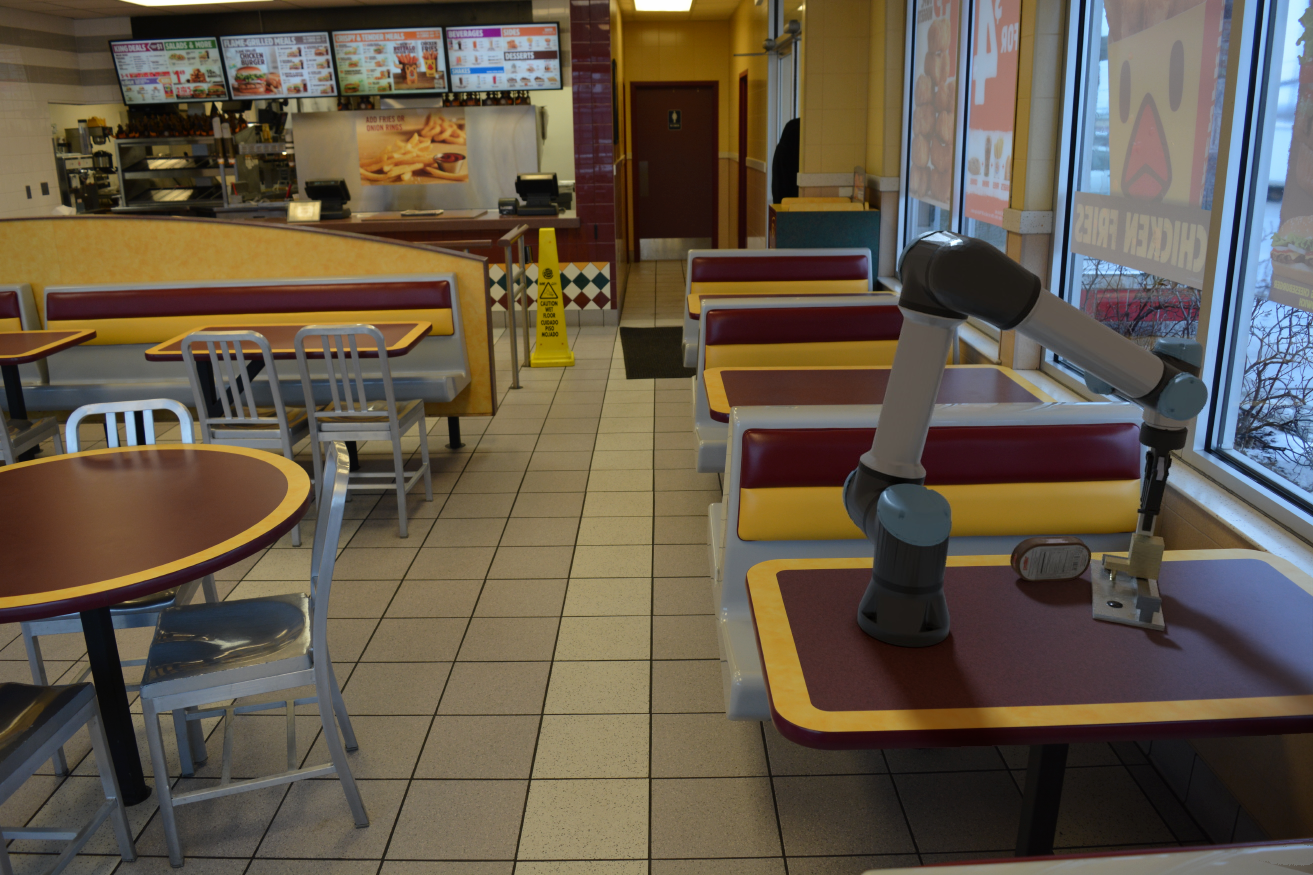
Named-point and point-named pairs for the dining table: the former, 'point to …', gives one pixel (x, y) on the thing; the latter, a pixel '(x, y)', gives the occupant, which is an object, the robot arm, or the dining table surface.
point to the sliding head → (1139, 558)
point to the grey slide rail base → (1142, 596)
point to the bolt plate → (1119, 598)
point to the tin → (1050, 558)
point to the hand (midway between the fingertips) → (1142, 544)
